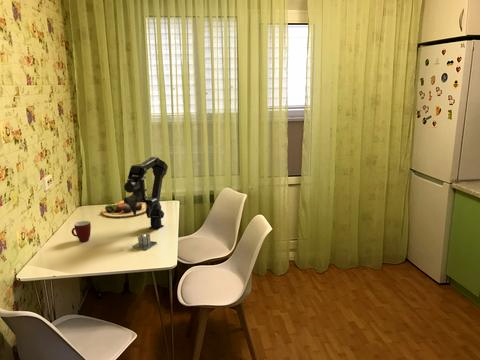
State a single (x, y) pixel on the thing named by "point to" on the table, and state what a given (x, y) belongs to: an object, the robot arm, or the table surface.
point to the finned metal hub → (144, 246)
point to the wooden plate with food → (123, 210)
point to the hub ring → (144, 240)
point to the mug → (82, 230)
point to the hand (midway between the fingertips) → (141, 215)
